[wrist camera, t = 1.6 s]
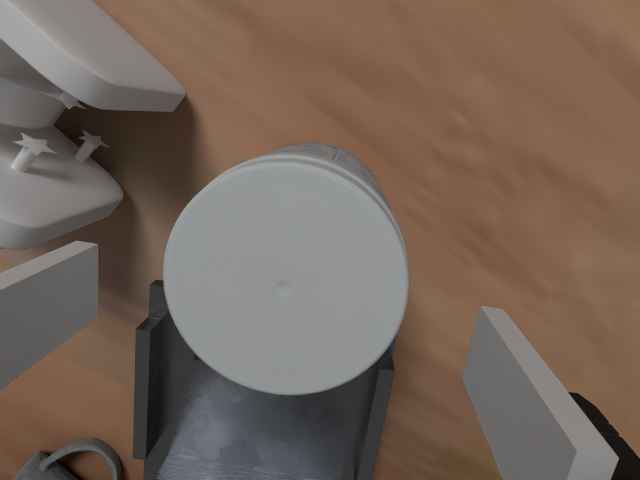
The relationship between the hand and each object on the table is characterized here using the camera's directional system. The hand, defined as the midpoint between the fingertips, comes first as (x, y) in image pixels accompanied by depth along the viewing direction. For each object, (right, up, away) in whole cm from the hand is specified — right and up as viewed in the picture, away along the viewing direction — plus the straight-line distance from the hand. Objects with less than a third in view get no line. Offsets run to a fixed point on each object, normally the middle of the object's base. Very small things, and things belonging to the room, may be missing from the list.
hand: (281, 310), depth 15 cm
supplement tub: (+1, +5, +15) cm, 16 cm away
